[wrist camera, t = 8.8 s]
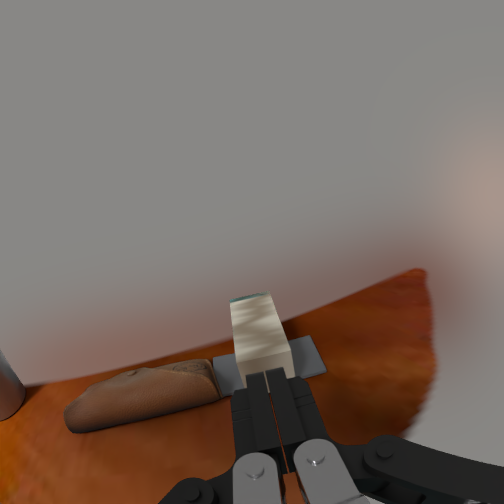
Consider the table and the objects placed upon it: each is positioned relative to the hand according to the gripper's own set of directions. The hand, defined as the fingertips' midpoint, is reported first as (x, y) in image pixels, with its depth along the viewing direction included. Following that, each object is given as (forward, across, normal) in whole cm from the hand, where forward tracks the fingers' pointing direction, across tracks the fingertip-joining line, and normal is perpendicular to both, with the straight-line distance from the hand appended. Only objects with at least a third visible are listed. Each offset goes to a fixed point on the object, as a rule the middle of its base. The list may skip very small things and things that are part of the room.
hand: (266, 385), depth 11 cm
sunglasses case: (+14, +14, +15) cm, 24 cm away
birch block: (+12, 0, +11) cm, 16 cm away
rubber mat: (+16, 0, +14) cm, 22 cm away
